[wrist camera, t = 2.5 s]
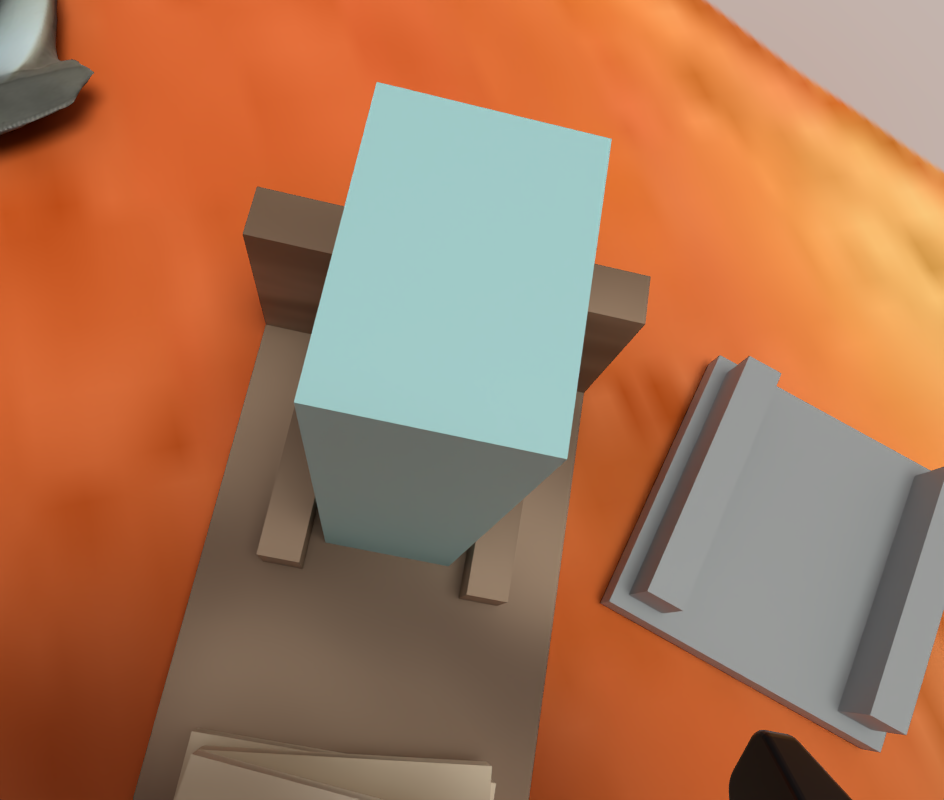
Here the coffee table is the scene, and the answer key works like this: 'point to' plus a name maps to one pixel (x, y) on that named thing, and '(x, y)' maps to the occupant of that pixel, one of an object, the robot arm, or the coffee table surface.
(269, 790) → the offcut stack
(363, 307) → the tall aqua box
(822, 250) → the coffee table surface
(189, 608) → the walnut rack
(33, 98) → the salad plate
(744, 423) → the slate stand
